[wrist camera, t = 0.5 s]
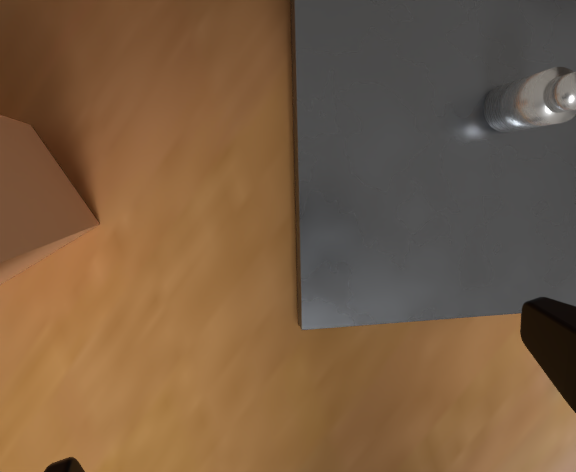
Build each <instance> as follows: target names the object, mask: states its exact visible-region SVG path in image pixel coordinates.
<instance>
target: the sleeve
mask: <svg viewBox="0 0 576 472" xmlns="http://www.w3.org/2000/svg"><path fill="white" fill-rule="evenodd" d="M98 225H99V222H98V221H97V219H96V218H95V216H94V215H93V214H92V212H91V211H90V209H89V208H88V206H87V205H86V204H85V202H84V201H83V199H82V198H81V196H80V195H79V194H78V192H77V191H76V189H75V188H74V186H73V185H72V183H71V182H70V181H69V179H68V178H67V176H66V175H65V173H64V172H63V171H62V169H61V168H60V166H59V165H58V163H57V162H56V160H55V159H54V158H53V156H52V155H51V153H50V152H49V150H48V149H47V148H46V146H45V145H44V143H43V142H42V140H41V139H40V138H39V136H38V135H37V133H36V132H35V130H34V129H33V127H32V126H31V125H30V124H27V123H24V122H21V121H18V120H15V119H12V118H9V117H6V116H3V115H0V285H1V284H3V283H4V282H6V281H7V280H9V279H11V278H12V277H14V276H16V275H17V274H19V273H21V272H22V271H24V270H25V269H27V268H29V267H30V266H32V265H34V264H35V263H37V262H39V261H40V260H42V259H44V258H45V257H47V256H48V255H50V254H52V253H53V252H55V251H57V250H58V249H60V248H62V247H63V246H65V245H66V244H68V243H70V242H71V241H73V240H75V239H76V238H78V237H80V236H81V235H83V234H84V233H86V232H88V231H89V230H91V229H93V228H94V227H96V226H98Z"/></svg>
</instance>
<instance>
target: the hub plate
mask: <svg viewBox="0 0 576 472" xmlns="http://www.w3.org/2000/svg"><path fill="white" fill-rule="evenodd" d="M290 2H291V45H292V87H293V130H294V172H295V215H296V257H297V300H298V324H299V326H300V327H301V329H302V330H308V329H321V328H334V327H347V326H360V325H373V324H386V323H399V322H412V321H425V320H438V319H451V318H464V317H477V316H490V315H503V314H516V313H521V312H522V306H523V304H524V303H525V302H526V301H529V300H532V299H535V298H538V297H547V298H551V299H554V300H557V301H560V302H563V303H567V304H570V305H573V306H576V0H290Z"/></svg>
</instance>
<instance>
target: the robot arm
mask: <svg viewBox="0 0 576 472" xmlns="http://www.w3.org/2000/svg"><path fill="white" fill-rule="evenodd" d="M520 333H521V338H522V341H523V343H524V344H525V346H526V347H527V349H528V350H529V351H530V353H531V354H532V355H533V357H534V358H535V360H536V361H537V362H538V364H539V365H540V366H541V368H542V369H543V370H544V372H545V373H546V375H547V376H548V377H549V379H550V380H551V381H552V383H553V384H554V386H555V387H556V388H557V390H558V391H559V392H560V394H561V395H562V396H563V398H564V399H565V400H566V402H567V403H568V404H569V406H570V407H571V408H572V409H573V410H574V412H575V413H576V306H573V305H570V304H567V303H563V302H560V301H557V300H554V299H551V298H547V297H538V298H535V299H532V300H529V301H526V302H525V303H524V304H523V306H522V312H521V329H520ZM44 472H85V471H84V470H83V468H82V467H81V465H80V464H79V462H78V461H77V460H76V459H75V458H73V457H69V458H66V459H63V460H60V461H57V462H54V463H52V464H50V465H49V466H48V467H47V468H46V469H45V471H44Z"/></svg>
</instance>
